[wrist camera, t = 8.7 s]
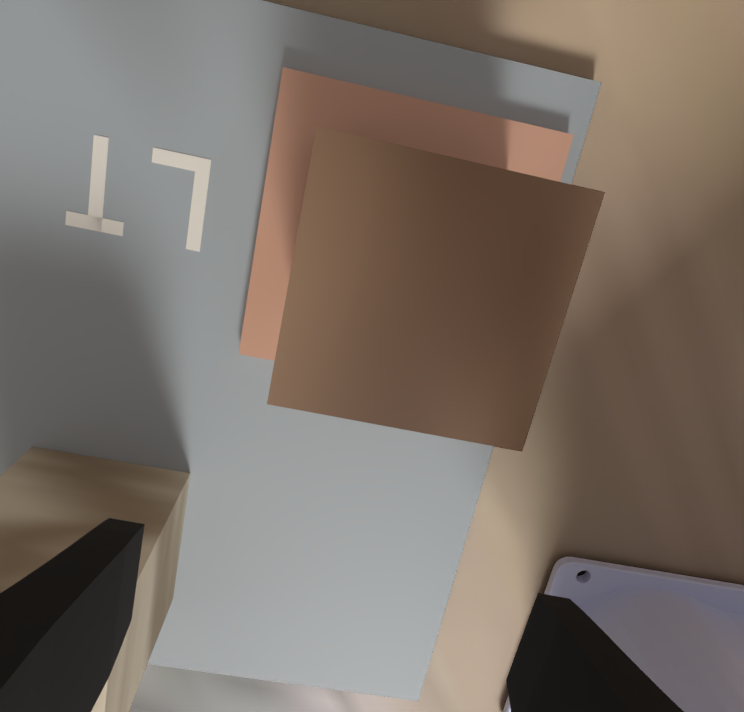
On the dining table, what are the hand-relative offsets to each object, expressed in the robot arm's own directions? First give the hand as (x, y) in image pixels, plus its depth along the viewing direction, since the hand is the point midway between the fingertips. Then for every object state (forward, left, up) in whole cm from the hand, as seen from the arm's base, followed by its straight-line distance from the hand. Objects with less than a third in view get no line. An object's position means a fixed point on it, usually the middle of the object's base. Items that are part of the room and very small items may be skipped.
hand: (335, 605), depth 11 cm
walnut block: (-1, -5, -9) cm, 10 cm away
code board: (+3, 0, -10) cm, 10 cm away
